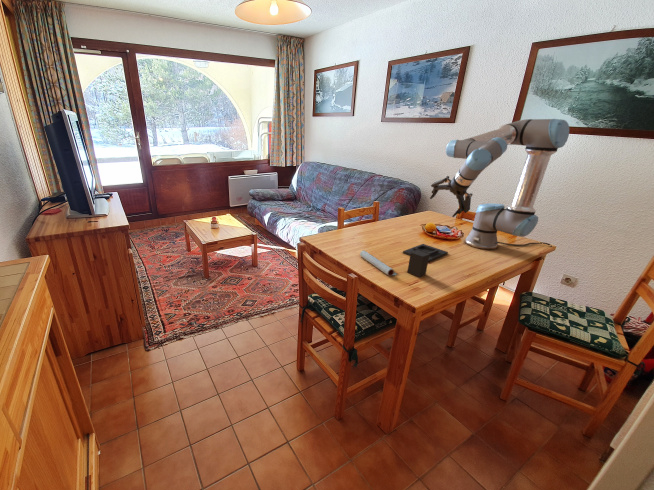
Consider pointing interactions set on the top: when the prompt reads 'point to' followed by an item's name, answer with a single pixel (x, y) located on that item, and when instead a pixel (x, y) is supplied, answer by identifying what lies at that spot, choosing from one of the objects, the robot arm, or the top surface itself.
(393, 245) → the top surface
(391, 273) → the aluminum foil
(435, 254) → the base pad
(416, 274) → the black rectangular block
